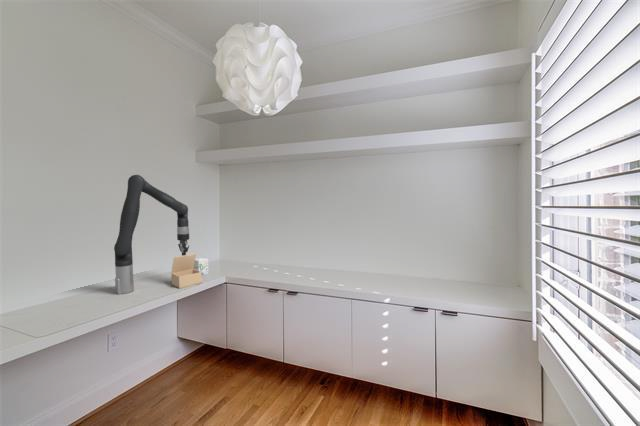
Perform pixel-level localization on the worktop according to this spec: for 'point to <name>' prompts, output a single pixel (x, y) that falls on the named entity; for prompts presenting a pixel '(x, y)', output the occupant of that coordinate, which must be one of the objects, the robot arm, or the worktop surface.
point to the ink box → (201, 265)
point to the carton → (186, 278)
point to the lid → (183, 263)
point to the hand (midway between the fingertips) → (184, 257)
